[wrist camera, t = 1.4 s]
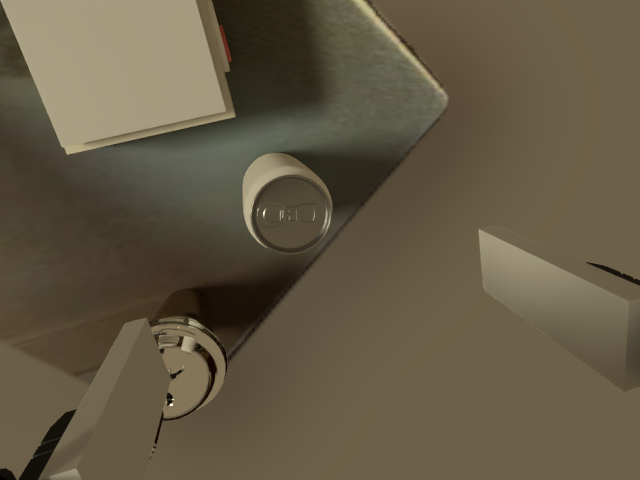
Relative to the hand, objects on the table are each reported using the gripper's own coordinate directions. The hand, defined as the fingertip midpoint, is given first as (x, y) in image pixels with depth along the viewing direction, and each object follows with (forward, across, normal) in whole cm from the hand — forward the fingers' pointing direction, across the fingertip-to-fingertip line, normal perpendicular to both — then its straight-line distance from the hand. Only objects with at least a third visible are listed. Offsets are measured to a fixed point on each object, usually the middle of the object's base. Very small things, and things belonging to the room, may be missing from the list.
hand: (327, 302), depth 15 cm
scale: (+25, -8, +13) cm, 29 cm away
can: (+25, 0, 0) cm, 25 cm away
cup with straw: (+25, -12, -10) cm, 29 cm away
